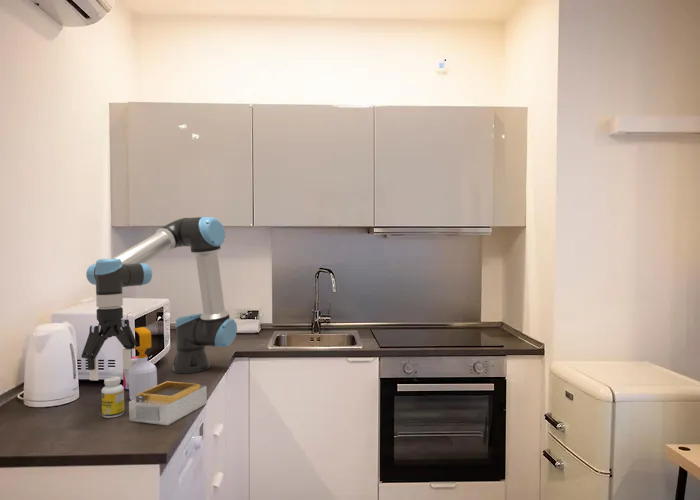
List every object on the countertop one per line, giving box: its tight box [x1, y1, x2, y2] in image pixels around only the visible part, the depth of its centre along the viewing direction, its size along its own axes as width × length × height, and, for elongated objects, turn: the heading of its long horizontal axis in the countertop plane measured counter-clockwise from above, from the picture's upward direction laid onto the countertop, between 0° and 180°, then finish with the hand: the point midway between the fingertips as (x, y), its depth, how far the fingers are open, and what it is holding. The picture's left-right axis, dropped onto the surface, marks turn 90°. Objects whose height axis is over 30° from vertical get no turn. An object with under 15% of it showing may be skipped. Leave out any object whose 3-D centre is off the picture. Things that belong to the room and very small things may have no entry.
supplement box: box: [122, 355, 138, 391], centre depth 186 cm, size 6×6×12 cm
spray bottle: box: [128, 326, 158, 401], centre depth 175 cm, size 9×9×25 cm
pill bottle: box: [100, 376, 125, 419], centre depth 158 cm, size 6×6×12 cm
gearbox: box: [128, 380, 208, 426], centre depth 160 cm, size 20×14×8 cm
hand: (111, 374), depth 158 cm, fingers open, 13 cm apart
